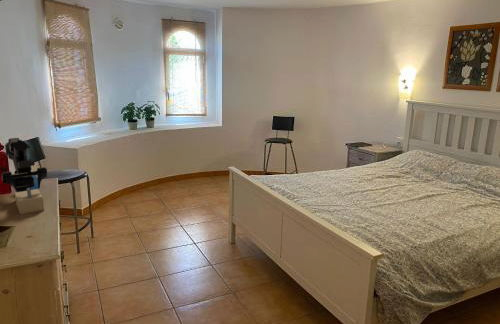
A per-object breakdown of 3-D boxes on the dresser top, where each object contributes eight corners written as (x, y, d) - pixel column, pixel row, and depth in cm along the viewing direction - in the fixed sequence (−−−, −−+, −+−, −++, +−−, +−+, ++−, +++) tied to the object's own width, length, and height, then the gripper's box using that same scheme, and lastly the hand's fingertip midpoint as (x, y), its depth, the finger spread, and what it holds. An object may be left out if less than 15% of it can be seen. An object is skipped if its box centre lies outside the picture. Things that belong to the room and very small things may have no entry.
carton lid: (14, 193, 184) (13, 184, 183) (37, 190, 190) (36, 181, 189) (18, 201, 174) (16, 192, 173) (42, 197, 180) (41, 188, 178)
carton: (16, 206, 186) (14, 193, 184) (39, 202, 192) (37, 190, 190) (20, 214, 175) (18, 202, 174) (44, 210, 181) (42, 197, 180)
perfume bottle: (30, 191, 208) (28, 170, 205) (21, 190, 209) (18, 170, 206) (39, 188, 214) (36, 168, 211) (29, 187, 215) (26, 167, 212)
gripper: (-2, 156, 173) (4, 184, 167) (43, 151, 184) (51, 177, 178) (-1, 169, 181) (5, 196, 175) (43, 163, 192) (49, 189, 186)
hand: (28, 189), depth 178 cm, fingers open, 9 cm apart
